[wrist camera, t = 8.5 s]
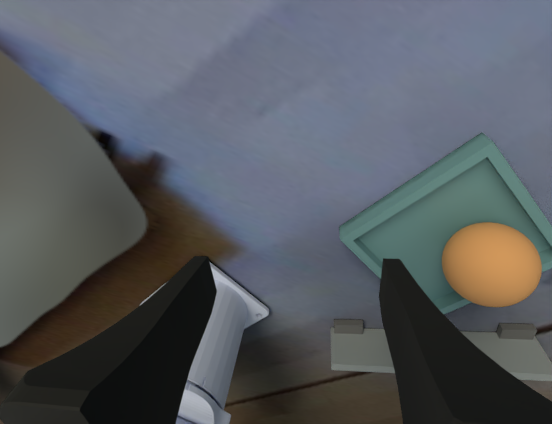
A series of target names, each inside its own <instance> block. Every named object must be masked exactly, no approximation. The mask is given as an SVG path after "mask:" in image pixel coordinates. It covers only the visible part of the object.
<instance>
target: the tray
mask: <svg viewBox="0 0 552 424" xmlns="http://www.w3.org/2000/svg"><path fill="white" fill-rule="evenodd" d="M483 222H492V223H499V224H504V225H507V226H509V227H512V228H514V229H516V230H518V231H519V232H521V233H522V234H524V235H525V236H526V237H527V238H528V239H529V240H530V241H531V242H532V243H533V244H534V246H535V248H536V249H537V251H538V253H539V256H540V259H541V264H542V272H544V271H546V270H549V269H551V268H552V226H551V224H550V223H549V222H548V220H547V219H546V217H545V216H544V214H543V213H542V212H541V210H540V209H539V207H538V206H537V204H536V203H535V201H534V200H533V199H532V197H531V196H530V194H529V193H528V191H527V190H526V188H525V187H524V186H523V184H522V183H521V181H520V180H519V178H518V177H517V176H516V174H515V173H514V171H513V170H512V168H511V167H510V165H509V164H508V163H507V161H506V160H505V158H504V157H503V155H502V154H501V152H500V151H499V150H498V148H497V147H496V145H495V144H494V142H493V141H492V140H490V139H489V138H488V137H487V136H486V135H484V134H483V133H480V134H479V135H477V136H476V137H474V138H473V139H471V140H470V141H468V142H467V143H465V144H464V145H462V146H461V147H459V148H458V149H456V150H455V151H453V152H452V153H450V154H449V155H447V156H445V157H444V158H442V159H441V160H439V161H438V162H436V163H435V164H433V165H432V166H430V167H429V168H427V169H426V170H424V171H423V172H421V173H420V174H418V175H417V176H415V177H414V178H412V179H411V180H409V181H408V182H406V183H405V184H403V185H402V186H400V187H399V188H397V189H396V190H394V191H393V192H391V193H389V194H388V195H386V196H385V197H383V198H382V199H380V200H379V201H377V202H376V203H374V204H373V205H371V206H370V207H368V208H367V209H365V210H364V211H362V212H361V213H359V214H358V215H356V216H355V217H353V218H352V219H350V220H349V221H347V222H346V223H344V224H343V225H341V226H340V227H339V232H340V240H341V241H342V242H343V243H344V244H345V245H346V246H347V247H348V248H349V249H350V250H351V251H352V252H353V253H354V254H355V255H356V256H357V257H358V258H359V259H360V260H361V261H362V262H363V263H365V264H366V265H367V266H368V267H369V268H370V269H371V270H372V271H373V272H374V273H375V274H376V275H377V276H378V277H379V278H380V279H381V273H382V263H383V258H385V259H400V260H401V261H402V262H403V264H404V265H405V267H406V268H407V270H408V271H409V273H410V274H411V275H412V277H413V278H414V279H415V281H416V282H417V283H418V285H419V286H420V287H421V289H422V290H423V291H424V292H425V293H426V295H427V296H428V297H429V298H430V300H431V301H432V302H433V303H434V304H435V305H436V307H437V308H438V309H439V310H440V311H441V312H442V313H443V314H446V313H448V312H451V311H453V310H455V309H458V308H460V307H462V306H465V305H467V304H469V303H472V302H471V301H468V300H467V299H465V298H463V297H462V296H461V295H459V294H458V293H457V292H456V291H455V290H454V289H453V288H452V287H451V286H450V284H449V283H448V281H447V280H446V278H445V275H444V273H443V269H442V253H443V250H444V247H445V245H446V243H447V242H448V240H449V239H450V238H451V237H452V236H453V235H454V234H455V233H456V232H457V231H459V230H460V229H462V228H464V227H466V226H469V225H472V224H476V223H483ZM542 272H541V273H542Z"/></svg>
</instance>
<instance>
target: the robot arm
mask: <svg viewBox="0 0 552 424" xmlns="http://www.w3.org/2000/svg"><path fill="white" fill-rule="evenodd" d="M379 299H380V307H381V315H382V321H383V326H384V330H385V334H386V338H387V342H388V346H389V350H390V354H391V358H392V362H393V366H394V370H395V374H396V379H397V384H398V390H399V397H400V404H401V410H402V418H403V424H552V402H551V401H550V400H548V399H547V398H545V397H544V396H542V395H541V394H539V393H538V392H536V391H535V390H533V389H531V388H530V387H529V386H527V385H526V384H524V383H523V382H521V381H520V380H519V379H517V378H516V377H515V376H513V375H512V374H510V373H509V372H508V371H506V370H505V369H504V368H502V367H501V366H500V365H499V364H497V363H496V362H495V361H494V360H492V359H491V358H490V357H489V356H487V355H486V354H485V353H484V352H482V351H481V350H480V349H479V348H478V347H477V346H475V345H474V344H473V343H472V342H471V341H470V340H469V339H468V338H467V337H466V336H464V335H463V334H462V333H461V332H460V331H459V330H458V329H457V328H456V327H455V326H454V325H453V324H452V323H451V322H450V321H449V320H448V319H447V318H446V317H445V315H444V314H443V313H442V312H441V311H440V310H439V309H438V308H437V307H436V305H435V304H434V303H433V302H432V301H431V300H430V298H429V297H428V296H427V295H426V293H425V292H424V291H423V290H422V289H421V287H420V286H419V285H418V283H417V282H416V281H415V279H414V278H413V277H412V275H411V274H410V273H409V271H408V270H407V268H406V267H405V265H404V264H403V262H402V261H401V260H400V259H385V258H383V263H382V273H381V282H380V292H379ZM258 313H259V314H258ZM268 314H269V309H268V308H267V307H266V306H265V305H264V304H262V303H261V302H260V301H259V300H257V299H256V298H255V297H253V296H252V295H251V294H250V293H248V292H247V291H246V290H245V289H243V288H242V287H241V286H240V285H238V284H237V283H236V282H235V281H233V280H232V279H231V278H230V277H228V276H227V275H226V274H224V273H223V272H222V271H221V270H219V269H218V268H217V267H216V266H214V265H213V264H212V263H211V262H209V258H208V257H207V256H195V257H193V258H192V259H191V260H190V261H189V262H188V263H187V264H186V265H185V266H184V267H183V268H182V269H181V270H180V271H179V272H177V273H176V274H175V275H174V276H173V277H172V278H171V279H170V280H169V281H168V282H166V283H165V284H164V285H163V286H161V287H160V288H159V289H158V290H157V291H155V292H154V293H153V294H152V295H150V296H149V297H148V298H147V299H145V300H144V301H143V302H142V303H141V304H140V306H139V307H138V308H136V309H135V310H134V311H132V312H131V313H130V314H128V315H127V316H126V317H124V318H123V319H121V320H120V321H119V322H117V323H116V324H114V325H113V326H111V327H109V328H108V329H106V330H105V331H103V332H102V333H100V334H98V335H97V336H95V337H94V338H92V339H90V340H89V341H87V342H85V343H83V344H81V345H80V346H78V347H76V348H74V349H72V350H70V351H69V352H67V353H65V354H63V355H61V356H59V357H57V358H55V359H52V360H50V361H48V362H46V363H44V364H42V365H40V366H38V367H36V368H33V369H31V370H29V371H28V372H27V373H26V374H25V375H24V376H23V378H22V379H21V380H20V381H19V383H18V384H17V385H16V386H15V388H14V389H13V390H12V391H11V392H10V394H9V395H8V396H7V397H6V399H5V400H4V401H3V402H2V404H1V405H0V419H1V420H2V422H3V423H4V424H229V423H230V418H231V415H230V414H229V413H227V412H225V411H224V406H225V402H226V398H227V395H228V391H229V387H230V383H231V379H232V375H233V371H234V367H235V363H236V359H237V355H238V351H239V347H240V343H241V339H242V335H243V331H244V329H245V328H247V327H249V326H251V325H252V324H254V323H256V322H257V321H259V320H261V319H263V318H264V317H266V316H268Z"/></svg>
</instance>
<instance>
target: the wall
mask: <svg viewBox="0 0 552 424" xmlns="http://www.w3.org/2000/svg"><path fill="white" fill-rule="evenodd" d="M460 332H461V333H462V334H463V335H464V336H466V337H467V338H468V339H469V340H470V341H471V342H472V343H473V344H474V345H475V346H477V347H478V348H479V349H480V350H481V351H482V352H484V353H485V354H486V355H487V356H489V357H490V358H491V359H492V360H494V361H495V362H496V363H497V364H499V365H500V366H501V367H502V368H504V369H505V370H506V371H508V372H509V373H510V374H512V375H513V376H515V377H516V378H517V379H520V380H539V381H552V363H551V361H550V360H549V358H548V356H547V355H546V353H545V352H544V350H543V348H542V347H541V345H540V344H539V342H538V340H537V339H536V337H535V334H536V332H537V330H536V328H535V327H534V325H533V324H507V323H499V326H498V328H497V331H496V332H467V331H460ZM331 370H343V371H363V372H382V373H395V370H394V366H393V362H392V358H391V354H390V350H389V346H388V342H387V338H386V334H385V330H384V329H365V328H363V320H347V319H334V328H331Z"/></svg>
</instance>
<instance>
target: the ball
mask: <svg viewBox="0 0 552 424" xmlns="http://www.w3.org/2000/svg"><path fill="white" fill-rule="evenodd" d="M442 269H443V273H444V275H445V278H446V280H447V281H448V283H449V284H450V286H451V287H452V288H453V289H454V290H455V291H456V292H457V293H458V294H459V295H461V296H462V297H463V298H465V299H467V300H468V301H471V302H473V303H475V304H479V305H482V306H487V307H505V306H510V305H513V304H516V303H518V302H520V301H522V300H524V299H525V298H527V297H528V296H529V295H530V294H531V293H532V292H533V291H534V290H535V289H536V287H537V285H538V283H539V281H540V278H541V272H542V264H541V259H540V256H539V253H538V251H537V249H536V248H535V246H534V244H533V243H532V242H531V241H530V240H529V239H528V238H527V237H526V236H525V235H524V234H522V233H521V232H519V231H518V230H516V229H514V228H512V227H509V226H507V225H504V224H499V223H492V222H483V223H476V224H472V225H469V226H466V227H464V228H462V229H460V230H459V231H457V232H456V233H455V234H454V235H453V236H452V237H451V238H450V239H449V240H448V242H447V243H446V245H445V247H444V250H443V253H442Z"/></svg>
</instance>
